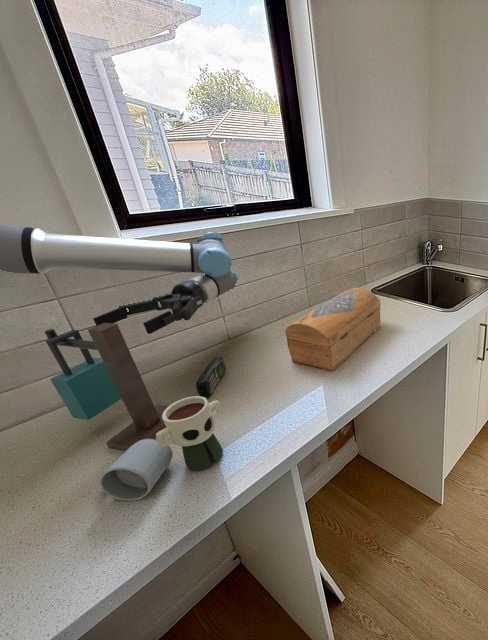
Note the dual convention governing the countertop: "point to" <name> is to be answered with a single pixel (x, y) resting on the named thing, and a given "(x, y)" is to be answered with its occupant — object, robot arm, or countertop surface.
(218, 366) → the mobile phone
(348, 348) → the wooden box
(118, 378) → the hook stand
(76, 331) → the teal handbag
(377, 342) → the countertop surface
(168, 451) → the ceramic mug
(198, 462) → the character mug
